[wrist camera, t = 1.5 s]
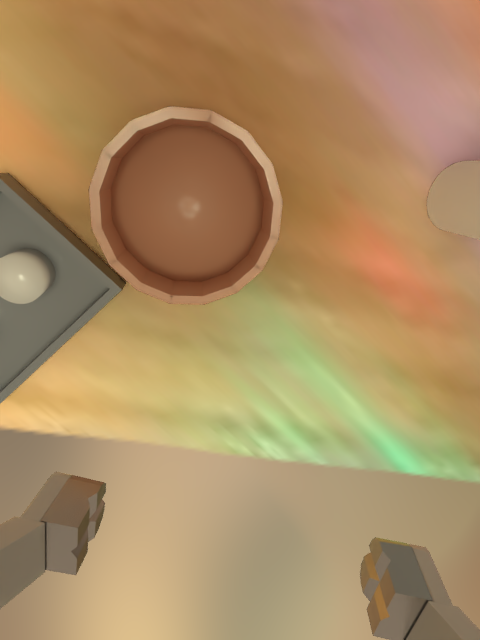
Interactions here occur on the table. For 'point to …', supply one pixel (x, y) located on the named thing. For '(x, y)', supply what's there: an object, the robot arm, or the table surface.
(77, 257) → the parts tray
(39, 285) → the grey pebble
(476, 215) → the cylindrical container
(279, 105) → the table surface
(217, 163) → the terracotta bowl
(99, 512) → the robot arm
